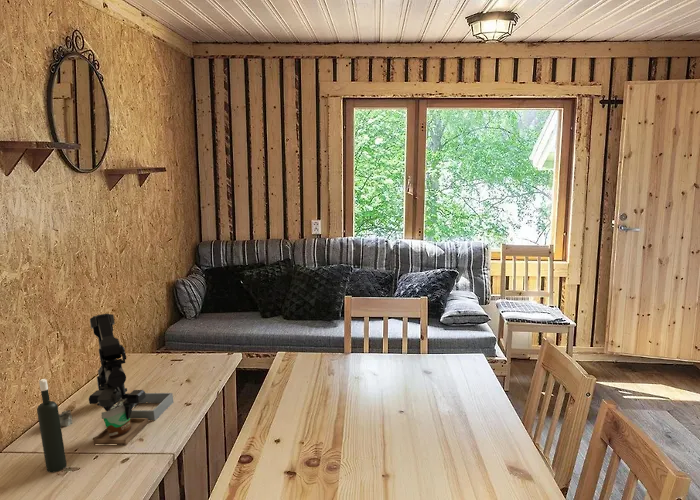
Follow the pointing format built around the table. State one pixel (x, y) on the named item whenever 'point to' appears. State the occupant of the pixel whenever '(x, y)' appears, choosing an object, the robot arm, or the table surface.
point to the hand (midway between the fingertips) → (120, 419)
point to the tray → (125, 438)
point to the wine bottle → (50, 431)
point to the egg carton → (65, 418)
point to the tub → (164, 401)
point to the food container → (116, 419)
